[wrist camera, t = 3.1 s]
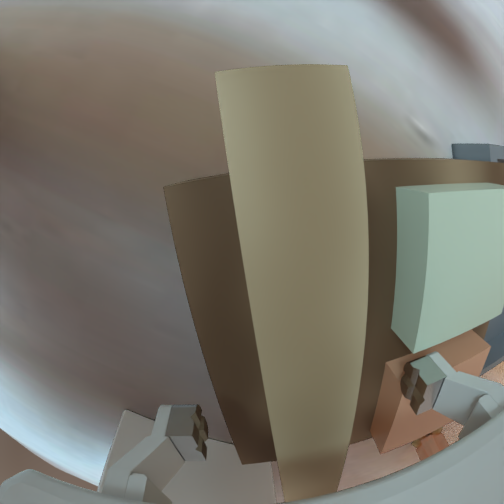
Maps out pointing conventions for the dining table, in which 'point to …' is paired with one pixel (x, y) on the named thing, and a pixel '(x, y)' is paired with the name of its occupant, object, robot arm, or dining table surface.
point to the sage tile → (447, 261)
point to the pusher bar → (302, 255)
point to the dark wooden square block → (237, 299)
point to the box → (500, 327)
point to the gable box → (199, 470)
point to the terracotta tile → (398, 407)
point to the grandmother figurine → (430, 444)
